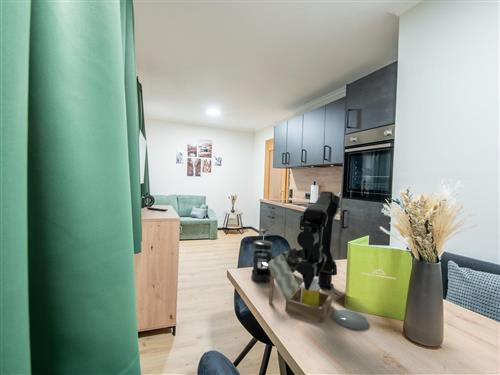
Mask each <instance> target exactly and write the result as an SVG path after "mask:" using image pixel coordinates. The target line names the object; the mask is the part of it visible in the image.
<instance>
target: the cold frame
mask: <svg viewBox="0 0 500 375" xmlns="http://www.w3.org/2000/svg"><path fill="white" fill-rule="evenodd" d="M267 265H268V267H269V269H270V271H271V277H270V282H269V283H270V284H269V296H268V297H269V298H268V304H269V305H272V304H273V300H274V288H275V287H274V286H275V285H274V284H275V283H276V285H277V287H278V289H279V291H280V292H281V294H282V296H283V299H284V300H285V307H284V308H285V309H284V311H285V312H287V313H290V314H293V315H296V316H300V317H303V318H306V319H310V320H312V321H315V322H318V323H322V324H323V323H324V321H325V320H326V317H327V315H328V313H329V311H330V309H331V307H332V304H333V295H332V294H329V293H326V292H321V291H319V304H321V305H322V306H321V308H320V307H318V308H317V307H314V306H310V305H307V304H303V303H300V302H301V301H300V302H299V301H298V300H299V299H301V286H300V285H299V283H298V281H297V279H296V276H295V277H294V275H293V274H294V273H292V271H291V269H290V268H289V266H288V264H287V262H286V260H285V258H284V256H283V254H282V253H280V254H279V255H278V256H275V258H274V259H273V260H272V259H271V261H269V262H268V263H267Z"/></svg>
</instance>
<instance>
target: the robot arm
mask: <svg viewBox="0 0 500 375" xmlns="http://www.w3.org/2000/svg"><path fill="white" fill-rule="evenodd" d="M341 206H342V200H341V198H340V196H338V195H336V194H335V193H334V192H333V191H328V190H327V191H325V190H323V191H320V195H319V197H318V198H317V200H316V201H315V203H314V204H311V205H309V206H307V207H306V208H305V210H304V211H303V215H302V217H301V218H302V219H301V222H300V228H303V230H302V231H301V232H299V234H298V235H297V236H296V238H297V239H296V240H297V244H298V245H299V246H300V247H297V248H295V247H294V248H290V249H289V250H288V251H287V252H288V253H289V254H288V256H289V257H290V258H291V260H294V259H297V258H298V259H301V261H299V263H298V264H297V265H296V271H295V272H297V273H299V274H300V275H301V276H302V280H303V282H304V285H305V289H306V290H309V288H310V286H311V284H312V282H313V279H314V277H315V276H317V277H318V281H317V284H318V285H319V287H320V288H321V289H324V290H328V291H331V290H332V289H333V287H334V283H332V282H333V281H332V279H333V276H337V275H338V268H337V262H336V261H335V259H336V258H335V255H334V252H333V251H332V249H333V240H334V238H333V237H334V228H335V227H334V226H335V217H337V215H338V214H339V212H340V209H341Z"/></svg>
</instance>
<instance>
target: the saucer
mask: <svg viewBox="0 0 500 375" xmlns="http://www.w3.org/2000/svg"><path fill="white" fill-rule="evenodd" d="M332 318H333V320H334V322H335V323H336V324H338V325H339V326H340V327H343V328H346V329H348V330H353V331H363V330H366V329H367V328H368V327H369V321H368V319H367V318H366V316H364V315H362V314H361V313H359V312H356V311H352V310H350V309H349V310H347V309H338V310H335V311H334V312H333V313H332Z"/></svg>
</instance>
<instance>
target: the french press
mask: <svg viewBox="0 0 500 375" xmlns="http://www.w3.org/2000/svg"><path fill="white" fill-rule="evenodd" d="M259 231H261V232H262V234H263V237H262V239H261V240H259V239H258V240H257V239H256V240H253V244H254V248H255V249H256V250H254V251H253V252H252V257H253V264H252V266H253V267H252V270H251V276H250V279H251V281H253V282H255V283H261V284H266V283H270V277H271V271H270V269H269V267H268V265H267V263H268V262H269V261H271V260H273V259H274V258H276V256H273V252H271V251H269V250H272V249H273V245H274V242H273V241H269V240H265V234H266V232H269V229H267V228H261V229H260V228H259ZM257 249H258V250H257ZM264 254H265V255H264ZM259 259H261V261H259ZM264 260H266V262H265V261H264ZM263 261H264V262H263Z"/></svg>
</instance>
